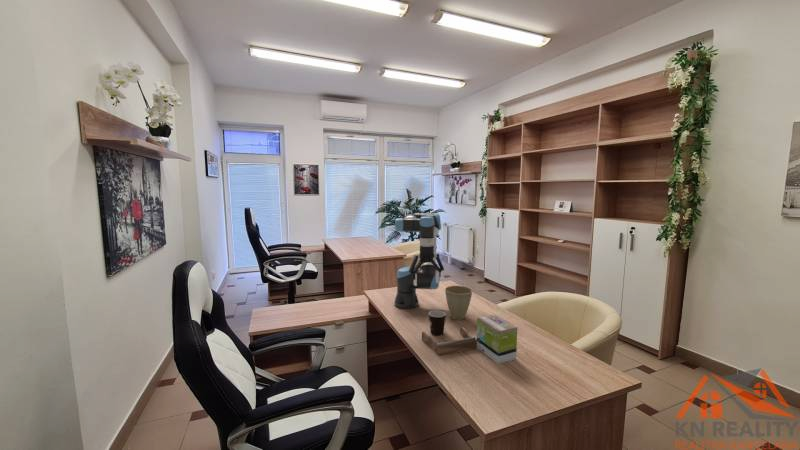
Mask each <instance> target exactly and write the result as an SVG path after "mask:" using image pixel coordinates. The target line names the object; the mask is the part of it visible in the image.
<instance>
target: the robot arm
mask: <svg viewBox="0 0 800 450" xmlns="http://www.w3.org/2000/svg"><path fill="white" fill-rule="evenodd" d="M440 216H441V215H440V214H439V213H438V212H413V213H410V214H407V215H406V216H404V217H403V218H402V217H399V218H396V219H395V220H394V222H395V223H394V230H395V231H396V232H399V233H400V232H401V233H402V232H408V233H409V232H413V233H415V232H416V233H417V232H418V233H419V245H420V246H419V255H417V254H414V255H413V260H412V262H411V264H410V266H404V267H400V268H399V269H398V270H397V272H396V273H397V274H396V280H397V281H396V286H397V287H396V290H397V293H396V294H395V295H396V296H395V298H394V300H393V301H394V304H393V305H394V307H396V308H400V309H414V308H417V307H418V306H419V302H420V301H419V298H418V295H417V290H430V291H432V290H438V289H439V287H440V281H441V275H442V274H441V273H442V271H444V270H445V267H444V265H443V264H442V260H441V258H440V254H439V253H438V252H437V234H439V232H440V231H441V230H442V224H441V217H440Z"/></svg>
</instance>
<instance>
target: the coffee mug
mask: <svg viewBox="0 0 800 450" xmlns="http://www.w3.org/2000/svg"><path fill="white" fill-rule="evenodd" d="M446 317H447V314H446V312H445V311H442V310H437V309H436V310H430V311H428V319H429V320H428V321H429V322H428V323H429V329H430V331H429V332H430V334H431V335H432V336H435V337H440V336H443V335H444V331H445V324H446Z"/></svg>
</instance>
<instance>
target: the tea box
mask: <svg viewBox="0 0 800 450" xmlns="http://www.w3.org/2000/svg"><path fill="white" fill-rule="evenodd" d="M476 320H477V321H476V324H477V325H476V340H477V349H478V350H480V351H481V352H482V353H483V354H485V355H486V356H487V357H488V358H490V359H492V361H494V363H496V364H497V365H499V364H503V363H506V362H507V363H508V362H511V361H514V360H517V346H518V344H517V343H518V326H516V325H514V324H512V323H511V322H508V321H507V320H505V319H503V318H502V317H500V316H498V315H496V314H489V315H485V316H480V317H477V319H476Z"/></svg>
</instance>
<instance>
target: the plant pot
mask: <svg viewBox="0 0 800 450" xmlns="http://www.w3.org/2000/svg"><path fill="white" fill-rule="evenodd" d="M444 292H445V298H446V304H447V308H448V310H449V311H448V312H449V315H450V317H451V318H452V319H454V320H464V319H465V317H466V315H467V313H468V310H469V307H470V303H471V301H472V294H473V290H472V289H471V288H470V287H469V286H468V287H467V286H463V285H451V286H447V287H445V289H444Z"/></svg>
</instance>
